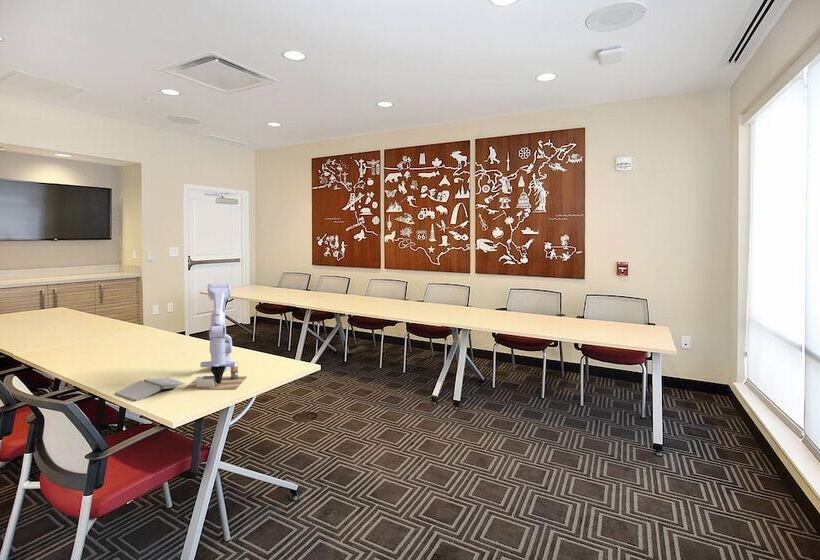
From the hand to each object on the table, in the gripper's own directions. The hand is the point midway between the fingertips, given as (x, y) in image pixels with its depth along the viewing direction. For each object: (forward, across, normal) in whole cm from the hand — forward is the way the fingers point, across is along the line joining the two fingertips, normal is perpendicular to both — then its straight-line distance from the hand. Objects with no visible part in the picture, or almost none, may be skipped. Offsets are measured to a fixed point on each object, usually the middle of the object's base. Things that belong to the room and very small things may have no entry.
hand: (218, 382), depth 197 cm
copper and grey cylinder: (+1, +4, +9) cm, 10 cm away
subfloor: (+2, -2, +3) cm, 4 cm away
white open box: (+1, -5, 0) cm, 5 cm away
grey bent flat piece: (+3, -27, -2) cm, 27 cm away
